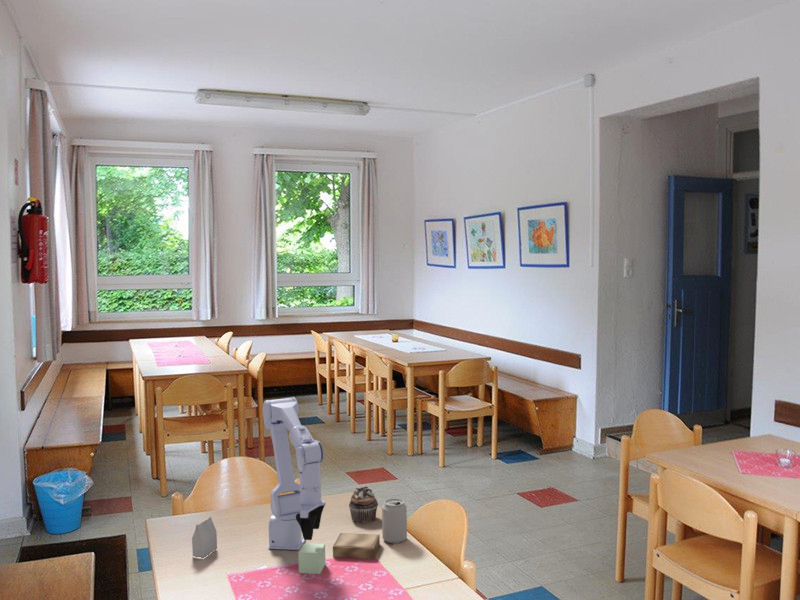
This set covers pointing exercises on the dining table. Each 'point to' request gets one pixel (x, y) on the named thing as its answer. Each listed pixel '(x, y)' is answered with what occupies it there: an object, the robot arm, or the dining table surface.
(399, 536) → the can
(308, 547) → the green cube
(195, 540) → the grey angular block
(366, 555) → the brown shallow tray
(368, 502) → the cupcake
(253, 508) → the dining table surface
